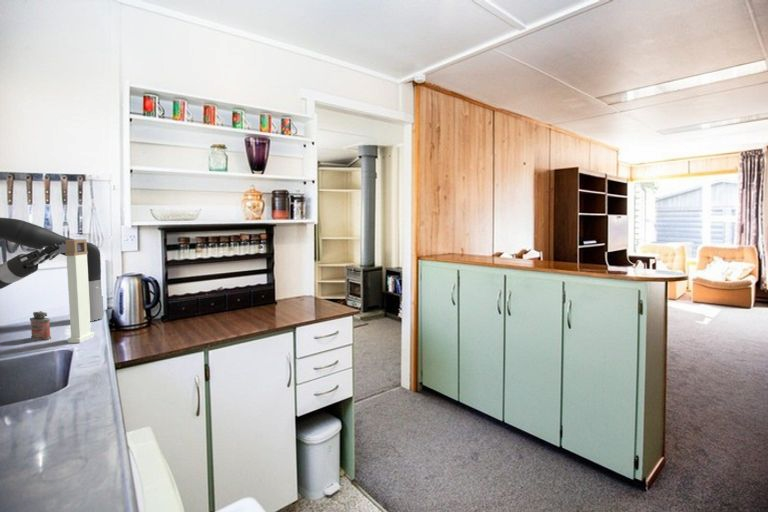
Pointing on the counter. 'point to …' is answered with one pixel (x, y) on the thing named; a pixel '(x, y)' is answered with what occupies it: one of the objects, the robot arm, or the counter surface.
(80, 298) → the stand
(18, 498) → the counter surface
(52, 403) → the counter surface
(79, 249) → the steel bar
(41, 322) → the lighter
